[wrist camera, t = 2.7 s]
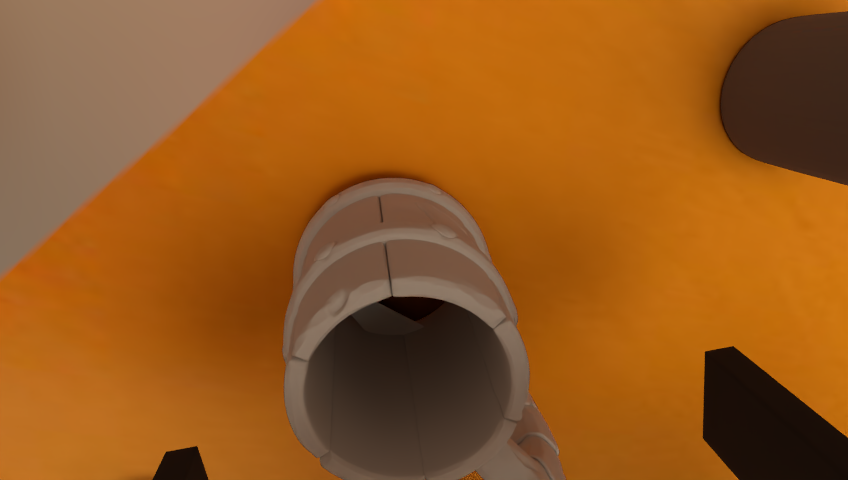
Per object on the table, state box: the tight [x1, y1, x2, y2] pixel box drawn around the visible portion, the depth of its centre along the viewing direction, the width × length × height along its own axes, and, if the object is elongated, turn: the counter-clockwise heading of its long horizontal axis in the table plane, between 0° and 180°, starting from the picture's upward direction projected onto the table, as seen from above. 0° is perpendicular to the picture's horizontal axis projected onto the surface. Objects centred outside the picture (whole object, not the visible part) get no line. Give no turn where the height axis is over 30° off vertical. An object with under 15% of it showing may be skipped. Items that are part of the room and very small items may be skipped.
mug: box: [282, 178, 566, 480], centre depth 19 cm, size 8×12×12 cm, turn 42°
